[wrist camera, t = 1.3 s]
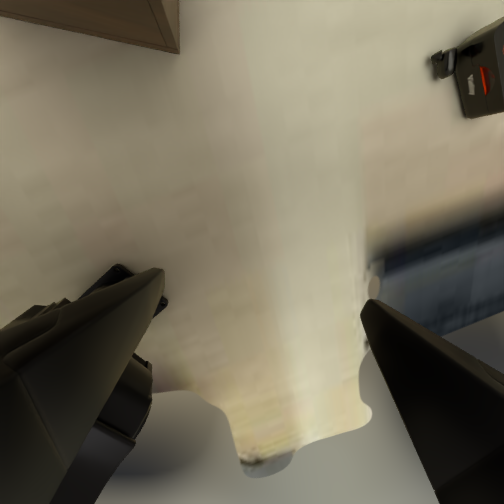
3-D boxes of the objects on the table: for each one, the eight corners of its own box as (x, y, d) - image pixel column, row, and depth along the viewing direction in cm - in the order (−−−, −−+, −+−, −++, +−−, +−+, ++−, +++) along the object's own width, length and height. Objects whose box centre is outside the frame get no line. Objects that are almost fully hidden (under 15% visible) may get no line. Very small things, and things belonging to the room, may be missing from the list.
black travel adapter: (473, 19, 17) (528, -14, 14) (489, 102, 20) (537, 90, 17) (424, 60, 17) (466, 37, 14) (446, 136, 20) (485, 130, 17)
